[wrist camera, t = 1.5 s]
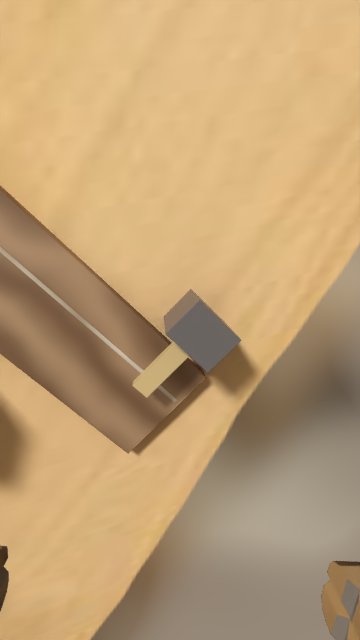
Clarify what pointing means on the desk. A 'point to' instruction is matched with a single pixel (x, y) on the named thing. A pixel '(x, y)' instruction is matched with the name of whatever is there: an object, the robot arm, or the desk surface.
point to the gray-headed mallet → (188, 341)
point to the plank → (80, 333)
